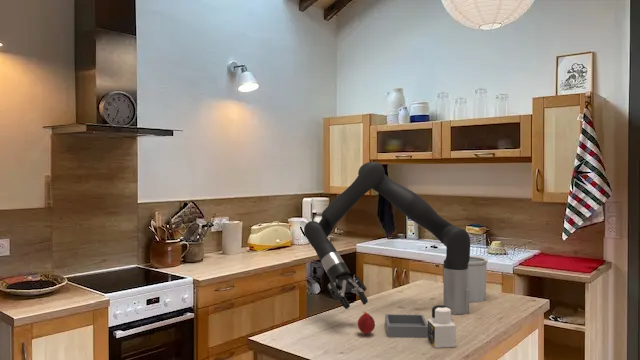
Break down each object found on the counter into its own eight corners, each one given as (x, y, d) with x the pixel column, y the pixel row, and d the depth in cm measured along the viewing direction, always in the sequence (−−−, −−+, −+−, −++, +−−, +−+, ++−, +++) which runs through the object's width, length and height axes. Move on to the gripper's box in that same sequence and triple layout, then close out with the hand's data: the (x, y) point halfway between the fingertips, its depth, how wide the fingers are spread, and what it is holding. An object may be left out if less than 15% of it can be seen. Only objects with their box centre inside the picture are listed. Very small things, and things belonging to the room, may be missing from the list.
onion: (376, 332, 170) (376, 309, 169) (372, 338, 164) (372, 314, 164) (360, 331, 171) (360, 308, 171) (355, 336, 166) (355, 312, 166)
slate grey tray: (422, 324, 178) (422, 314, 178) (428, 337, 165) (428, 326, 165) (385, 324, 179) (385, 314, 179) (387, 336, 166) (387, 326, 165)
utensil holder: (492, 303, 206) (492, 261, 206) (456, 303, 207) (456, 261, 206) (480, 293, 221) (481, 255, 221) (447, 293, 221) (447, 255, 221)
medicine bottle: (427, 340, 162) (427, 304, 162) (448, 339, 163) (448, 303, 163) (434, 348, 155) (434, 310, 155) (456, 347, 156) (456, 309, 156)
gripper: (324, 263, 173) (347, 303, 164) (354, 258, 182) (377, 296, 173) (315, 276, 177) (336, 315, 169) (344, 270, 186) (366, 307, 178)
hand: (357, 305), depth 171 cm, fingers open, 8 cm apart
